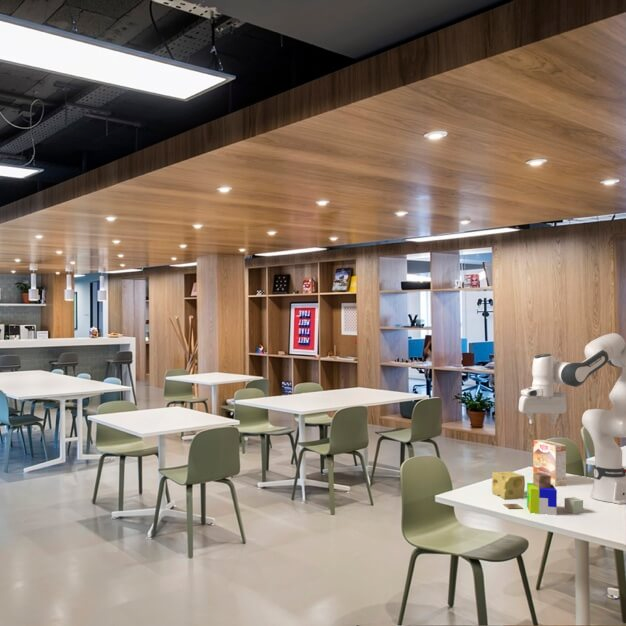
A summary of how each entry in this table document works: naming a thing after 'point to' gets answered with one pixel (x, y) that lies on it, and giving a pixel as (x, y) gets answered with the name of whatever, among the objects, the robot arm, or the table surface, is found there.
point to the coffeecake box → (550, 460)
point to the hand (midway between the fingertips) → (542, 423)
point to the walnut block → (541, 480)
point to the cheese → (508, 485)
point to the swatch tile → (512, 506)
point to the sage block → (573, 505)
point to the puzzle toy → (542, 500)
